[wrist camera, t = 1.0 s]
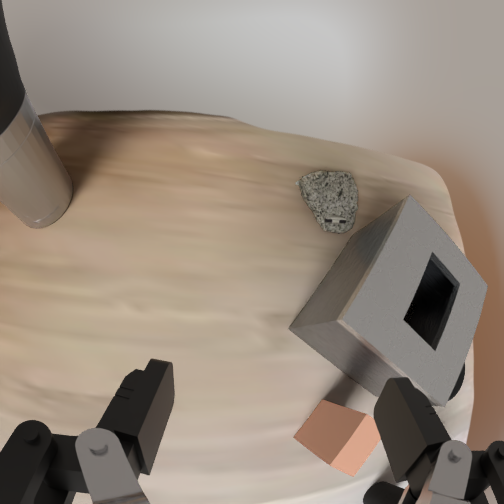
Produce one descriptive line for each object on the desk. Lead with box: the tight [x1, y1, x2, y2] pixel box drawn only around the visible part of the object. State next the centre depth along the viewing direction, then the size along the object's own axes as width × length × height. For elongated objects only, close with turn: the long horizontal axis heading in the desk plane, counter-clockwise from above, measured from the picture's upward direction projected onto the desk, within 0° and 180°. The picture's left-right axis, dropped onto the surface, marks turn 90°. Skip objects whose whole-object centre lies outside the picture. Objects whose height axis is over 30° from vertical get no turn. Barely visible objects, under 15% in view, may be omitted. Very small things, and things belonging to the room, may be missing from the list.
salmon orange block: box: [293, 399, 381, 477], centre depth 26 cm, size 6×4×10 cm, turn 141°
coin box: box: [289, 195, 488, 407], centre depth 31 cm, size 16×16×13 cm
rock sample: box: [295, 170, 358, 234], centre depth 38 cm, size 10×8×9 cm
